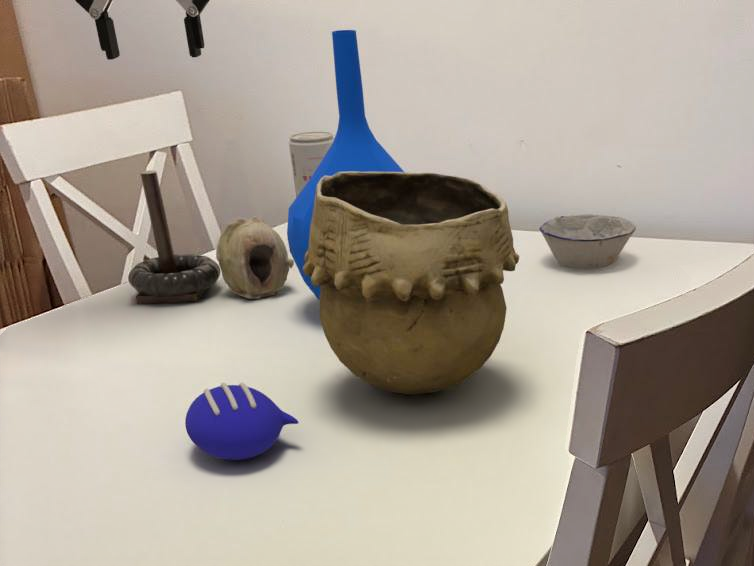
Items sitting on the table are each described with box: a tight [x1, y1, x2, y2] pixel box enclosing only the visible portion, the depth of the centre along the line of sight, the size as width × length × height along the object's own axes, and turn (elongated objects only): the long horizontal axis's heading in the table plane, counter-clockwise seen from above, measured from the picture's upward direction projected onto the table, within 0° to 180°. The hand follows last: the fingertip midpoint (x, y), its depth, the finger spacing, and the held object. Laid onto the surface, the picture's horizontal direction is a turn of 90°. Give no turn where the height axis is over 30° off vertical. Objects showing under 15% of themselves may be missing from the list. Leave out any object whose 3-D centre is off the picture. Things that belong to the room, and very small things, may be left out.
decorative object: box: [184, 381, 299, 461], centre depth 91 cm, size 10×6×10 cm
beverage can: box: [288, 130, 335, 198], centre depth 145 cm, size 7×6×15 cm
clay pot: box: [303, 171, 520, 395], centre depth 97 cm, size 21×21×20 cm
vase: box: [286, 29, 405, 302], centre depth 116 cm, size 18×18×30 cm
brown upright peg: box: [135, 170, 206, 305], centre depth 128 cm, size 8×8×15 cm
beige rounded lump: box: [215, 215, 295, 300], centre depth 129 cm, size 9×8×10 cm
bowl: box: [539, 213, 637, 270], centre depth 136 cm, size 13×13×5 cm
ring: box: [127, 253, 222, 297], centre depth 131 cm, size 12×12×3 cm
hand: (154, 57), depth 116 cm, fingers open, 9 cm apart
